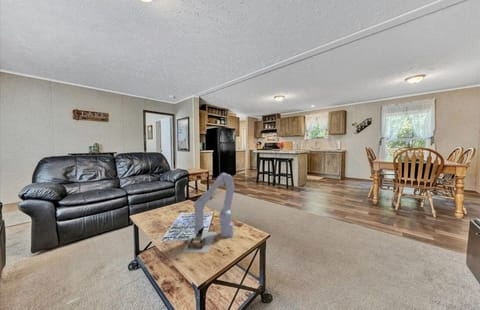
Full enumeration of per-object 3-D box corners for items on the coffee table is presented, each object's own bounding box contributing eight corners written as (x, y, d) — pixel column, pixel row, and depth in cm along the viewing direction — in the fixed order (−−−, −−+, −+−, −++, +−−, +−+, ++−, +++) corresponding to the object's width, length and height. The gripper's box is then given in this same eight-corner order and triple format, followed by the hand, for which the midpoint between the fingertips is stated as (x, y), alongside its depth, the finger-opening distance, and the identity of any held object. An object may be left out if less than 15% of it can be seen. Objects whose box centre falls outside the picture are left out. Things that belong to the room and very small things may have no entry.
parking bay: (205, 242, 112) (205, 238, 112) (202, 248, 105) (202, 244, 105) (192, 241, 113) (192, 238, 112) (188, 248, 105) (188, 244, 105)
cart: (194, 241, 113) (194, 233, 112) (202, 241, 112) (202, 233, 112) (191, 247, 107) (191, 238, 106) (199, 247, 106) (199, 238, 106)
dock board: (216, 232, 125) (216, 232, 125) (208, 253, 101) (208, 252, 101) (194, 232, 126) (194, 231, 126) (181, 252, 102) (181, 251, 102)
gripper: (196, 214, 121) (197, 233, 122) (189, 223, 106) (189, 244, 107) (206, 214, 120) (206, 233, 121) (200, 223, 106) (200, 245, 107)
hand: (199, 238), depth 114 cm, fingers closed
